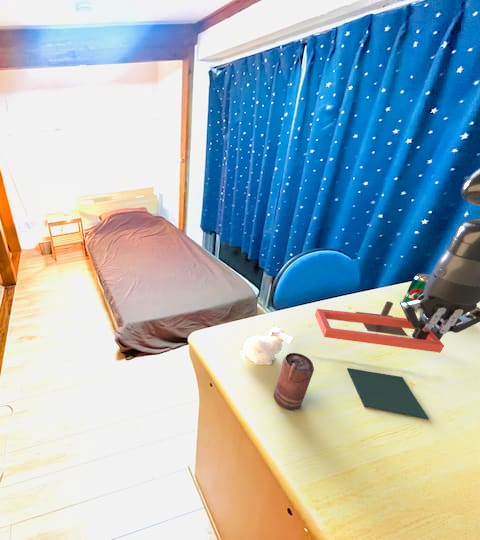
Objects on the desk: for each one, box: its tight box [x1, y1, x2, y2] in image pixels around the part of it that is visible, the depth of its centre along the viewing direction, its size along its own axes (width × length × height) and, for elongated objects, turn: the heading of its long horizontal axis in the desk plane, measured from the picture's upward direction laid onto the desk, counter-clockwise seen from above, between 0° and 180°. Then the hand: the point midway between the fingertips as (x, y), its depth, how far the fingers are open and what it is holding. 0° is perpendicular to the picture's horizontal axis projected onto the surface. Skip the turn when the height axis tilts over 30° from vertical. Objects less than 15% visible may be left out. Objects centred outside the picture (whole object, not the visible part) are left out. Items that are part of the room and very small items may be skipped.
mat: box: [346, 367, 430, 420], centre depth 70 cm, size 12×12×1 cm
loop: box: [314, 308, 445, 354], centre depth 64 cm, size 8×20×2 cm, turn 71°
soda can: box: [402, 273, 431, 309], centre depth 94 cm, size 5×5×12 cm
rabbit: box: [239, 327, 294, 366], centre depth 79 cm, size 12×9×12 cm
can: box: [273, 352, 315, 412], centre depth 67 cm, size 6×6×14 cm
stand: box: [355, 301, 409, 337], centre depth 88 cm, size 10×10×9 cm
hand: (422, 341), depth 61 cm, fingers closed on loop, 1 cm apart
